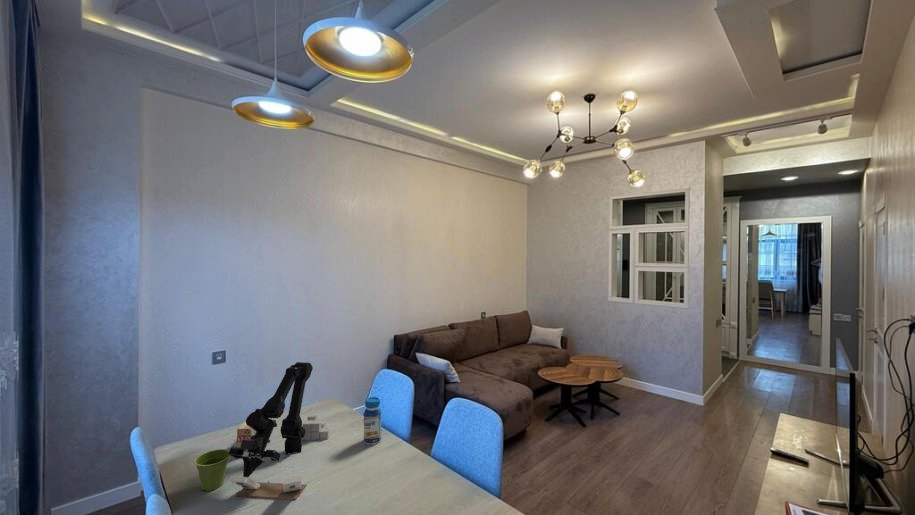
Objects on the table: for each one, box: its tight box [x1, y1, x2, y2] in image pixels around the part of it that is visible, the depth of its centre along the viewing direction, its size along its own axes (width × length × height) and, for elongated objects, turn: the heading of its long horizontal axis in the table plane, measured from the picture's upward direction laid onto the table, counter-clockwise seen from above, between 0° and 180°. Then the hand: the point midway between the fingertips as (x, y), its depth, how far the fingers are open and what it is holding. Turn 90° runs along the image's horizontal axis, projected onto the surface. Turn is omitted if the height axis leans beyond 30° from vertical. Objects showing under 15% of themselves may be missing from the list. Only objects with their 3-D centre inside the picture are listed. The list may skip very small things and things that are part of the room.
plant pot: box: [193, 448, 231, 492], centre depth 146 cm, size 12×12×11 cm
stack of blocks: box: [236, 418, 273, 451], centre depth 178 cm, size 21×6×12 cm, turn 3°
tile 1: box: [282, 475, 302, 493], centre depth 139 cm, size 2×6×11 cm
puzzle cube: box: [301, 412, 331, 441], centre depth 188 cm, size 12×12×8 cm
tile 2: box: [228, 475, 260, 489], centre depth 140 cm, size 2×6×11 cm
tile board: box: [235, 481, 307, 501], centre depth 143 cm, size 8×23×1 cm, turn 86°
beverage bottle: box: [363, 396, 383, 445], centre depth 181 cm, size 8×8×20 cm
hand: (244, 479), depth 140 cm, fingers closed, pressing on tile 2
